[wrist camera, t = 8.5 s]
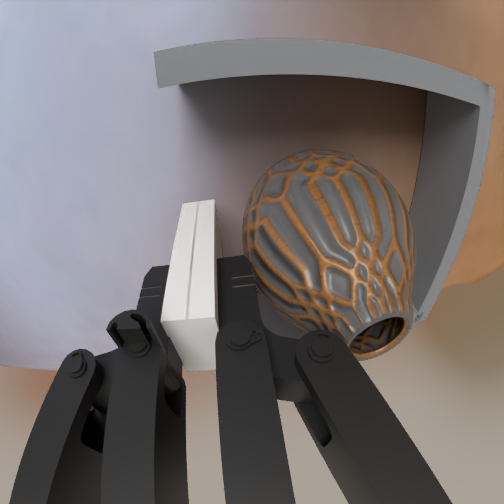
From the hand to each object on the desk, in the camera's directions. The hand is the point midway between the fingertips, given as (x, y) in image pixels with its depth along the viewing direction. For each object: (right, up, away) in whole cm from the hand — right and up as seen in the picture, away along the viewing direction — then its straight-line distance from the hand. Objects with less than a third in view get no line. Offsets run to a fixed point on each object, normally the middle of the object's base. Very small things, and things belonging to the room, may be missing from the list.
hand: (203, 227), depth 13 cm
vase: (+5, +2, +1) cm, 5 cm away
